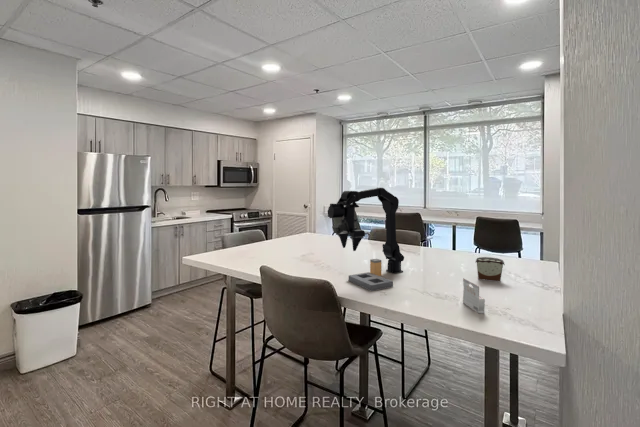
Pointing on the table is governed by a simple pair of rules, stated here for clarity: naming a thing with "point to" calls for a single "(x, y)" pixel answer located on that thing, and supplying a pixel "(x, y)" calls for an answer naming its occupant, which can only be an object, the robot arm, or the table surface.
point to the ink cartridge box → (473, 297)
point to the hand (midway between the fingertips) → (349, 249)
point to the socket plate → (370, 281)
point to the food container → (489, 268)
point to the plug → (375, 266)
